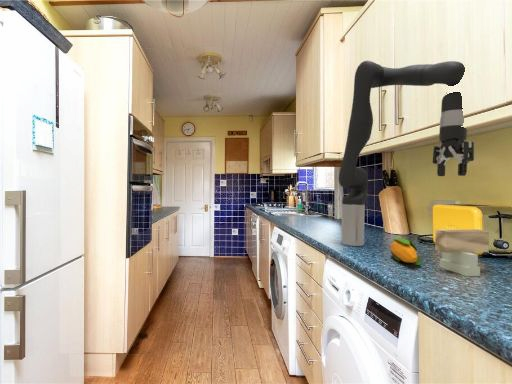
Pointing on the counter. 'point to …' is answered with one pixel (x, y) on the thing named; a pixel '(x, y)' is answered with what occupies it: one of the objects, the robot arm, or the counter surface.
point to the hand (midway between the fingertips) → (451, 175)
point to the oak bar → (462, 240)
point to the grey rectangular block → (461, 263)
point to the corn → (405, 251)
